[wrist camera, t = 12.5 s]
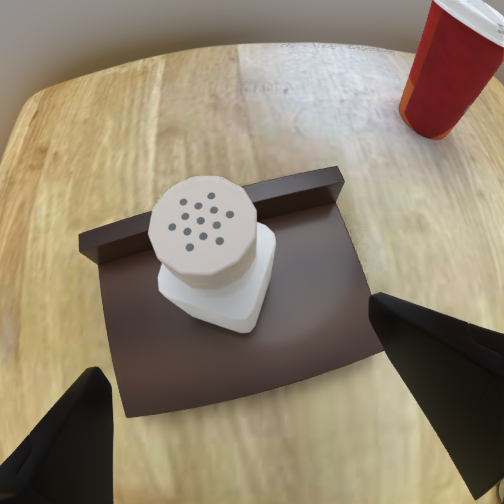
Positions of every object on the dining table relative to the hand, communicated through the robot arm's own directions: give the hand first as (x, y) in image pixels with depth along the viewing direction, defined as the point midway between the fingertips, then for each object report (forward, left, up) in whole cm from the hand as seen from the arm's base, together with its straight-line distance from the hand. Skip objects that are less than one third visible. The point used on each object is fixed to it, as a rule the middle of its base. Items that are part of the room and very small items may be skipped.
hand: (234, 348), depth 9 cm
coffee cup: (+28, +4, -11) cm, 30 cm away
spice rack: (+1, +3, -11) cm, 11 cm away
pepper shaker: (+2, +3, -8) cm, 9 cm away
